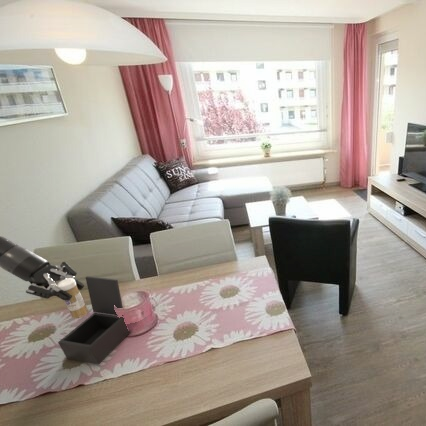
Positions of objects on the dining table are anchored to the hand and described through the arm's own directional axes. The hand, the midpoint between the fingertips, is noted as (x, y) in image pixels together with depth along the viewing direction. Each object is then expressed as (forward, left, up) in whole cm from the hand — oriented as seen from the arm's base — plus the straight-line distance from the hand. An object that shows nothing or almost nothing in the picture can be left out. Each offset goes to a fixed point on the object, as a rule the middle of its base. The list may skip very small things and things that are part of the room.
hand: (76, 292), depth 95 cm
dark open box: (+1, +2, -25) cm, 25 cm away
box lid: (+9, +2, -9) cm, 13 cm away
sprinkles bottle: (0, +2, -9) cm, 9 cm away
